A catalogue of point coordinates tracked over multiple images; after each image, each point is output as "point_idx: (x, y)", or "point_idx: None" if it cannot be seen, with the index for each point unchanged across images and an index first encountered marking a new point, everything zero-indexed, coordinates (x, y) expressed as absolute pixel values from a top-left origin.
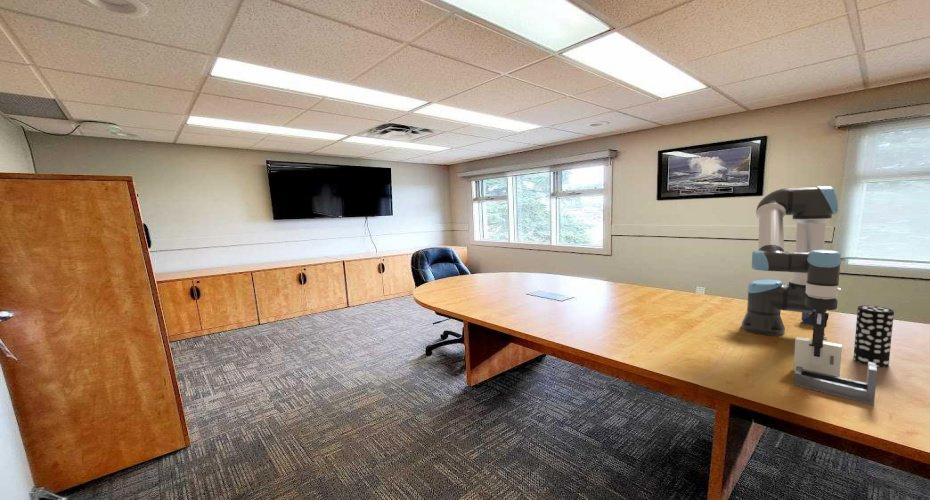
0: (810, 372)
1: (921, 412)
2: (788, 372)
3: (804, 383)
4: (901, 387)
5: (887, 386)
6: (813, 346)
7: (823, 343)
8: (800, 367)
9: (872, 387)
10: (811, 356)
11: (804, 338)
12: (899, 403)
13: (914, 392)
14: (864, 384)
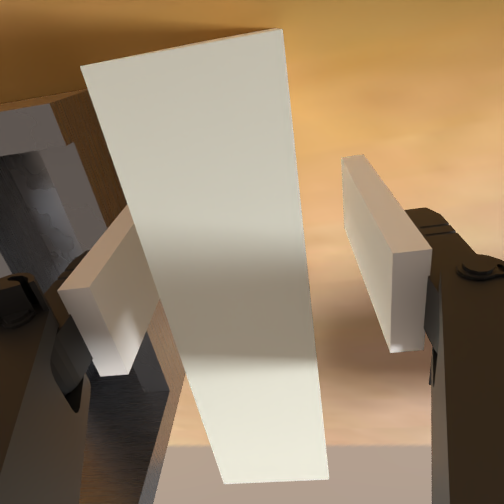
0: (58, 193)
1: (169, 444)
2: (146, 20)
3: None
4: (374, 410)
5: (347, 384)
6: (69, 301)
7: (216, 381)
8: (43, 134)
9: None
10: (120, 220)
11: (268, 179)
12: (191, 411)
13: (349, 433)
14: (143, 387)
